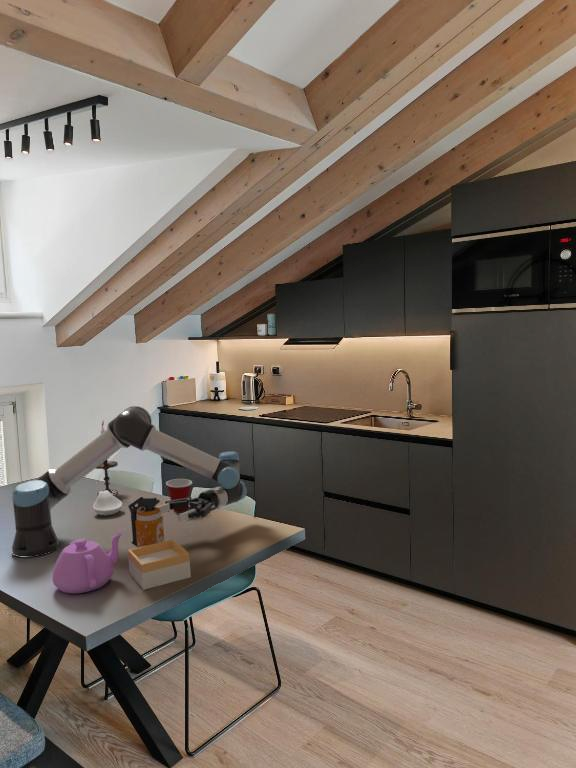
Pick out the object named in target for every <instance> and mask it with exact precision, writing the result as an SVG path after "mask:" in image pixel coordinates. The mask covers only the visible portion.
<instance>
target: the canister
mask: <svg viewBox="0 0 576 768" xmlns="http://www.w3.org/2000/svg"><path fill="white" fill-rule="evenodd" d="M160 502H161V501H160V499H157V497H153V498H150V497H149V498H145V497H143V496H140V497H139V498H137V499H136V500H135V501H133V502H132V503H130V504H129V505H128V509H129V512H130V521H131V532H132V535H131V536H132V541H131V544H132V545H134V546H135V547H136V548H138V547H143V546H147V545H151V544H156V543H160V542H165V541H166V540H165V531H164V518H163V516H162V514H161V511H160V509H159V508H157V507H158V506H157V505H158V504H159V503H160ZM136 505H137V506H136Z"/></svg>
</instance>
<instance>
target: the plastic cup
mask: <svg viewBox="0 0 576 768" xmlns="http://www.w3.org/2000/svg"><path fill="white" fill-rule="evenodd" d="M165 484H166V486H167V491H168V494H169V497H170V498H169V499H170V501H171V500H177V499H183V498H188V497H190V492H191V491H190V490H191V487H192V484H193V481H192V480H190V479H187V478H174V479H170V480H168V481H166V482H165ZM173 511H174V512H176V511H177V513H178V512H179V513H180V511H181V512H184V511H185V512H186V511H188V509H187V508H183V509H173Z"/></svg>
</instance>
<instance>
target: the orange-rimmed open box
mask: <svg viewBox="0 0 576 768" xmlns="http://www.w3.org/2000/svg"><path fill="white" fill-rule="evenodd" d="M164 541H165V542H160V543H156V544H151V545H147V546H143V547H138V548H137V547H134V548H130V549H129V548H128V550H127V557H128V570H129V575H130V576H131V577H132V578H133V580H134V581H136V583H137V585H139V587H140V588H141V589H142V590H144V591H145V590H148V589H152V588H155V587H160V586H163V585H167V584H171V583H174V582H178V581H182V580H185V579H186V580H187V579H190V578H192V575H191V559H190V552H188V551H187V550H186V549H185V548H184V547H182V545H180V544H179V543H178V542H176V540H174V539H170V540H164Z"/></svg>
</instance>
